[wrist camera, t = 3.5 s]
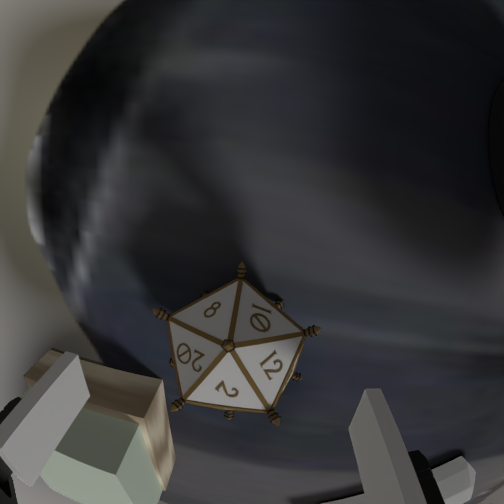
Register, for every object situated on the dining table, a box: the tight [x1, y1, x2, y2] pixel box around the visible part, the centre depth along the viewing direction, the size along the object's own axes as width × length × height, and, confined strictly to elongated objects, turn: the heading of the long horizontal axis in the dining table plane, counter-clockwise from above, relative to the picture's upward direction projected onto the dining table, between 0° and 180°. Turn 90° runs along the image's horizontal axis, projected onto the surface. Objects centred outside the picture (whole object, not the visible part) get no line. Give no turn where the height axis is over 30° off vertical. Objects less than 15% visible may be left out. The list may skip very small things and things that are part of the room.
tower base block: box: [24, 348, 176, 491], centre depth 22 cm, size 12×12×5 cm
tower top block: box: [21, 387, 162, 504], centre depth 17 cm, size 11×11×5 cm
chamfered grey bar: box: [321, 456, 476, 504], centre depth 24 cm, size 7×7×24 cm
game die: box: [152, 261, 322, 426], centre depth 16 cm, size 9×8×10 cm
